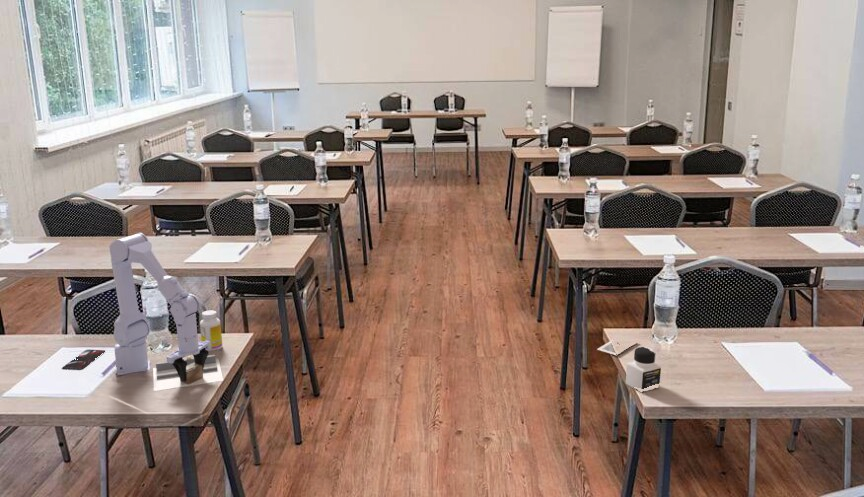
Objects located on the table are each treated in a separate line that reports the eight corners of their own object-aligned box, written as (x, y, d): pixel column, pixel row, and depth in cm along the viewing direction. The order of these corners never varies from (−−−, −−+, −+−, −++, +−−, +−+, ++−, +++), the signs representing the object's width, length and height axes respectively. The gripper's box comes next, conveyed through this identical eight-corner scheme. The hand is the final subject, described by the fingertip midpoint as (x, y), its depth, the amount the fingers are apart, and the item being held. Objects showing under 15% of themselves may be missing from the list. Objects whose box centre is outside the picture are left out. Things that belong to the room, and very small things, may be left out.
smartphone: (60, 368, 237) (86, 349, 252) (60, 370, 238) (86, 351, 252) (82, 369, 237) (106, 350, 251) (82, 371, 237) (107, 351, 251)
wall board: (154, 392, 222) (152, 381, 221) (153, 369, 237) (152, 359, 236) (223, 382, 228) (222, 371, 227) (218, 360, 244) (217, 350, 243)
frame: (188, 384, 225) (187, 371, 224) (180, 381, 227) (178, 368, 226) (203, 377, 230) (201, 364, 229) (195, 374, 232) (193, 361, 231)
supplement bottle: (225, 344, 256) (222, 309, 252) (218, 352, 250) (215, 316, 246) (206, 343, 257) (203, 308, 253) (199, 351, 250) (195, 315, 247)
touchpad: (596, 352, 250) (596, 346, 250) (618, 339, 261) (618, 333, 261) (617, 358, 245) (618, 352, 245) (638, 345, 256) (639, 339, 256)
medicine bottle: (641, 393, 221) (644, 356, 217) (625, 384, 227) (627, 347, 224) (659, 388, 224) (663, 351, 221) (642, 379, 230) (646, 343, 227)
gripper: (175, 346, 217) (180, 388, 220) (215, 330, 228) (219, 371, 232) (160, 340, 221) (165, 382, 224) (200, 325, 232) (204, 365, 236)
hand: (191, 376), depth 228 cm, fingers closed on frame, 5 cm apart
